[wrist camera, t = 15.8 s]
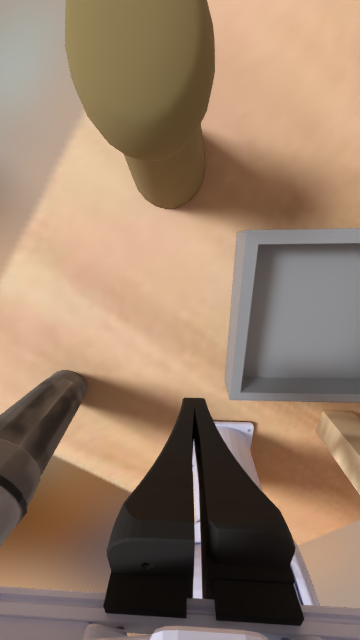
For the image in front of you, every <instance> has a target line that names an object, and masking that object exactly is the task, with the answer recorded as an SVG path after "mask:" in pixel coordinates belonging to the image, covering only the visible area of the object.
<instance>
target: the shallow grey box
mask: <svg viewBox="0 0 360 640" xmlns="http://www.w3.org/2000/svg"><path fill="white" fill-rule="evenodd" d="M225 384H226V388H227V392H228V395H229V399H230V400H249V401H301V402H353V403H360V228H349V229H285V230H245V231H241V232H238V233H237V240H236V252H235V264H234V276H233V288H232V300H231V312H230V324H229V336H228V348H227V360H226V372H225Z"/></svg>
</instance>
